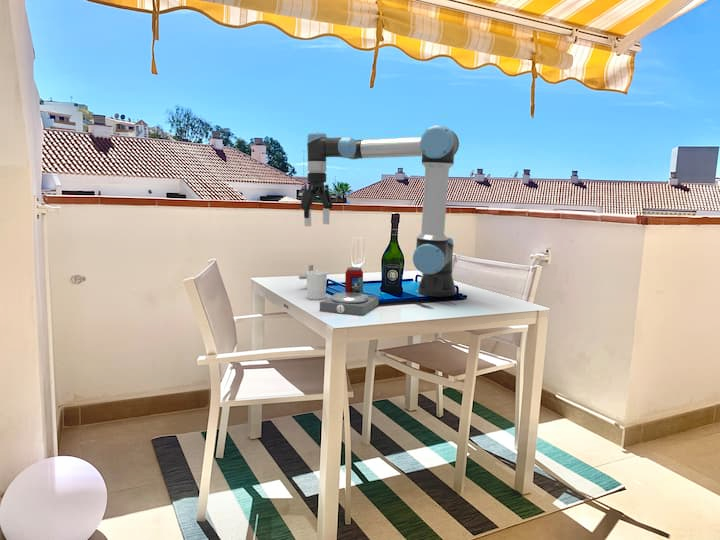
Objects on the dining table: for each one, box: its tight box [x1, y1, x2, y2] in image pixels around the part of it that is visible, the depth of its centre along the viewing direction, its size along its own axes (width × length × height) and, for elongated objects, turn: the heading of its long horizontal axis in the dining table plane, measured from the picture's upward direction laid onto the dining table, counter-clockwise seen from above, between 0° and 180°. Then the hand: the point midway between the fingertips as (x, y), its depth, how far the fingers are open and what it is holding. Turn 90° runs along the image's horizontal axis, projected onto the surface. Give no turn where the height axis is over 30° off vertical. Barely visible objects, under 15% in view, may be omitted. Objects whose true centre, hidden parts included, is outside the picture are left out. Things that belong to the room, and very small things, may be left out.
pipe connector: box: [298, 264, 314, 280], centre depth 209 cm, size 10×10×10 cm
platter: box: [331, 292, 368, 304], centre depth 176 cm, size 13×13×1 cm
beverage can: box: [344, 266, 364, 294], centre depth 190 cm, size 7×7×12 cm
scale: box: [319, 294, 379, 316], centre depth 176 cm, size 16×17×3 cm
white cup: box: [305, 270, 328, 301], centre depth 191 cm, size 8×8×10 cm
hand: (317, 225), depth 203 cm, fingers open, 13 cm apart
